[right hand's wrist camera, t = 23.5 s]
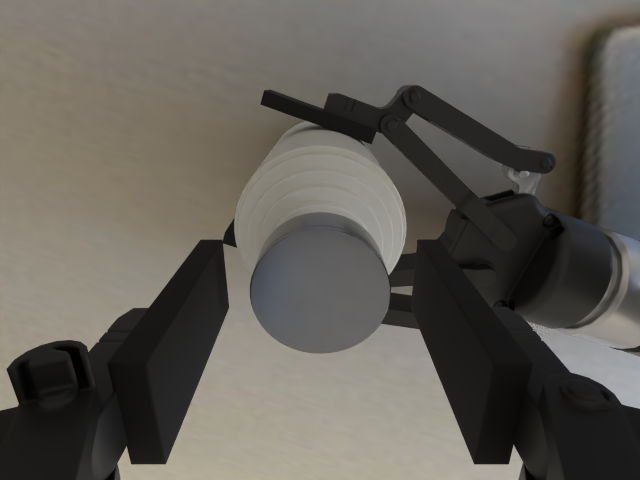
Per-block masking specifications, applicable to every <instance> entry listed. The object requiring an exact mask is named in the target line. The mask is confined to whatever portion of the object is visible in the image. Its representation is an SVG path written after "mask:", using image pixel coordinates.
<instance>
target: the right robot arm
mask: <svg viewBox="0 0 640 480" xmlns="http://www.w3.org/2000/svg"><path fill="white" fill-rule="evenodd" d="M228 309H229V302H228V292H227V282H226V271H225V261H224V251H223V241H222V240H200V241H199V243H198V244H197V245H196V247H195V248H194V249H193V251H192V252H191V253H190V255H189V256H188V257H187V259H186V260H185V261H184V262H183V264H182V265H181V266H180V268H179V269H178V270H177V272H176V273H175V274H174V276H173V277H172V278H171V280H170V281H169V282H168V284H167V285H166V286H165V288H164V289H163V290H162V291H161V293H160V294H159V295H158V297H157V298H156V299H155V301H154V302H153V303H152V305H151V306H150V307H149V308H133V309H132V310H130V311H128V312H127V313H125V314H124V315H122V316H121V317H119V318H118V319H117V320H116V321H115V322H114V323H113V324H112V326H111V327H110V328H109V329H108V332H106V333H105V334H104V335H103V336H102V337H101V338H100V340H99V342H97V343H96V344H95V345H94V347H93V348H92V349H91V350H90V351H89V352H88V350H87V346H85V345H84V344H83V343H81V342H78V341H72V340H65V341H55V342H52V343H48V344H44V345H41V346H39V347H36V348H34V349H32V350H30V351H27V352H26V353H24V354H23V355H21V356H20V357H18V358H17V359H15V360H14V361H13V362H12V363H11V365H10V366H9V367H8V368H7V372H8V374H9V377H10V380H11V383H12V386H13V388H14V391H15V394H16V397H17V399H18V402H19V405H18V407H14V408H10V409H6V410H1V411H0V480H120V474H119V469H118V465H117V463H118V461H119V459H120V457H121V455H122V453H123V452H124V450H125V448H126V446H127V449H128V453H129V457H130V461H131V464H166V462H167V460H168V457H169V455H170V452H171V450H172V447H173V445H174V442H175V440H176V437H177V435H178V432H179V430H180V428H181V425H182V423H183V420H184V418H185V415H186V413H187V410H188V408H189V405H190V403H191V400H192V398H193V395H194V393H195V390H196V388H197V385H198V383H199V381H200V378H201V376H202V373H203V371H204V368H205V366H206V363H207V361H208V358H209V356H210V353H211V351H212V348H213V346H214V343H215V341H216V338H217V336H218V334H219V331H220V329H221V326H222V324H223V321H224V319H225V316H226V314H227V311H228ZM411 309H412V311H413V314H414V316H415V319H416V321H417V324H418V326H419V329H420V331H421V334H422V336H423V338H424V341H425V343H426V346H427V348H428V351H429V353H430V356H431V358H432V361H433V363H434V366H435V368H436V371H437V373H438V376H439V378H440V381H441V383H442V385H443V388H444V390H445V393H446V395H447V398H448V400H449V403H450V405H451V408H452V410H453V413H454V415H455V418H456V420H457V423H458V425H459V428H460V430H461V432H462V435H463V437H464V440H465V442H466V445H467V447H468V450H469V452H470V455H471V457H472V460H473V462H474V464H509V461H510V457H511V453H512V449H513V444H514V446H515V448H516V450H517V451H518V453H519V455H520V457H521V459H522V461H523V465H522V469H521V472H520V476H519V480H640V409H638V408H633V407H629V406H625V405H622V404H621V403H620V401H619V400H618V399H617V397H616V396H615V395H614V393H612V392H611V391H610V390H608V389H607V388H606V387H605V386H603V385H602V384H600V383H598V382H596V381H594V380H592V379H590V378H588V377H584V376H581V375H578V374H574V373H570V371H569V370H568V369H567V368H566V367H565V366H564V364H563V363H562V362H561V361H560V360H559V359H558V357H557V356H556V355H555V354H554V353H553V352H552V351H551V349H550V348H549V347H548V346H547V345H546V344H545V342H544V341H541V338H540V337H539V335H538V334H537V333H536V332H535V331H533V329H532V327H531V326H530V325H529V324H528V323H527V322H526V320H525V319H524V318H523V317H522V316H520V315H519V314H517V313H515V312H514V311H512V310H511V309H509V308H507V307H490V306H489V305H488V303H487V302H486V301H485V299H484V298H483V297H482V295H481V294H480V293H479V291H478V290H477V289H476V288H475V286H474V285H473V284H472V282H471V281H470V280H469V278H468V277H467V276H466V274H465V273H464V272H463V270H462V269H461V268H460V266H459V265H458V264H457V262H456V261H455V260H454V259H453V257H452V256H451V255H450V253H449V252H448V251H447V249H446V248H445V247H444V245H443V244H442V243H441V241H440V240H418V241H417V251H416V261H415V271H414V282H413V292H412V302H411Z"/></svg>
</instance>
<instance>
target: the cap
mask: <svg viewBox="0 0 640 480" xmlns="http://www.w3.org/2000/svg"><path fill="white" fill-rule="evenodd" d="M390 297H391V285H390V278H389V275H388V272H387V269H386V266H385V263H384V261H383V258H382V255H381V252H380V250H379V247H378V245H377V243H376V242H375V240H374V239H373V237H372V236H371V235H370V234H369V232H368V231H367V230H366V229H364V228H363V227H362V226H361V225H360V224H358V223H356V222H355V221H353V220H351V219H349V218H347V217H345V216H341V215H338V214H334V213H327V212H314V213H307V214H302V215H299V216H296V217H294V218H292V219H290V220H287V221H286V222H284V223H283V224H281V225H280V226H279V227H277V228H276V229H275V230H274V231H273V232H272V233H271V234H270V236H269V237H268V238H267V240H266V241H265V243H264V245H263V247H262V249H261V251H260V254H259V257H258V260H257V263H256V266H255V269H254V271H253V275H252V278H251V284H250V299H251V304H252V308H253V311H254V313H255V315H256V317H257V319H258V321H259V322H260V324H261V325H262V327H263V328H264V329H265V330H266V331H267V332H268V333H269V334H270V335H271V336H272V337H273V338H275V339H276V340H278V341H279V342H280V343H282V344H284V345H286V346H288V347H291V348H293V349H296V350H299V351H303V352H309V353H332V352H338V351H341V350H345V349H348V348H350V347H353V346H355V345H357V344H358V343H360V342H362V341H363V340H365V339H366V338H367V337H369V336H370V335H371V334H372V333H373V332H374V331H375V330H376V329H377V328H378V326H379V325H380V324H381V322H382V320H383V319H384V317H385V315H386V313H387V310H388V307H389V304H390Z"/></svg>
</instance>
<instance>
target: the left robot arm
mask: <svg viewBox="0 0 640 480" xmlns="http://www.w3.org/2000/svg"><path fill="white" fill-rule="evenodd" d="M261 105H264V106H266V107H269V108H272V109H275V110H277V111H280V112H283V113H286V114H289V115H291V116H294V117H297V118H300V119H303V120H305V121H308V122H311V123H314V124H316V125H319V126H322V127H325V128H328V129H330V130H333V131H336V132H339V133H342V134H344V135H347V136H350V137H353V138H356V139H358V140H361V141H364V142H367V143H369V144H372V141H373V139H374V136H375V134H376V131H377V132H380V133H382V134H383V135H384V136H385V137H386V138H387V139H388V140H389V141H390V142H391V143H392V144H393V145H394V146H395V147H396V148H397V149H398V150H399V151H400V152H401V153H402V154H403V155H404V156H405V157H406V158H407V159H408V160H409V161H410V162H411V163H412V164H413V165H414V166H415V167H416V168H417V169H418V170H419V171H420V172H421V173H422V174H423V175H424V176H425V177H426V178H427V179H428V180H429V181H430V182H431V183H432V184H433V185H434V186H435V187H437V188H438V189H439V190H440V191H441V192H442V193H443V195H444V196H445V197H446V198H447V199H448V200H449V201H450V202H451V203H452V204H453V205H454V206H455V207H456V210H453V209H452V210H451V212H450V214H449V216H448V218H447V222H446V227H445V231H444V232H443V233H442V234H441V236H440V237H439V238H438V239H437V240H440V241H441V243H442V244H443V245H444V247H445V248H446V249H447V251H448V252H449V253H450V255H451V256H452V257H453V259H454V260H455V261H456V262H457V264H458V265H459V266H460V268H461V269H462V270H463V272H464V273H465V274H466V276H467V277H468V278H469V280H470V281H471V282H472V284H473V285H474V286H475V288H476V289H477V290H478V291H479V293H480V294H481V295H482V297H483V298H484V299H485V301H486V302H487V303H488V305H489V306H490V307H507V308H509V309H511V310H512V311H514V312H515V313H517V314H519V315H520V316H522V317H523V318H524V319H525V320H526V321H529V322H532V323H535V324H538V325H541V326H545V327H548V328H554V329H556V330H558V331H560V332H563V333H566V334H569V335H572V336H576V337H579V338H582V339H586V340H589V341H592V342H595V343H599V344H602V345H605V346H609V347H611V348H614V349H617V350H622V351H625V352H628V353H631V354H634V355H636V356H639V357H640V241H637V240H634V239H632V238H629V237H626V236H623V235H621V234H618V233H615V232H612V231H610V230H607V229H604V228H598V227H596V226H595V225H593V224H591V223H588V222H585V221H582V220H580V219H577V218H574V217H571V216H568V215H566V214H563V213H560V212H557V211H554V210H552V209H549V208H546V207H543V206H542V205H541V204H540V202H539V201H538V199H537V198H536V197H535V196H534V194H535V191H536V189H537V186H538V183H539V180H540V177H541V175H542V174H546V173H548V172H550V171H551V170H553V168H554V167H555V164H556V159H555V157H554V156H553V155H552V154H550V153H547V152H543V151H540V150H537V149H534V148H530V147H526V146H520V145H514V144H513V143H511V142H509V141H508V140H506V139H505V138H503V137H501V136H500V135H498V134H496V133H495V132H493V131H492V130H490V129H488V128H487V127H485V126H484V125H482V124H480V123H479V122H477V121H475V120H474V119H472V118H471V117H469V116H467V115H466V114H464V113H463V112H461V111H459V110H458V109H456V108H454V107H453V106H451V105H450V104H448V103H446V102H445V101H443V100H442V99H440V98H438V97H437V96H435V95H433V94H432V93H430V92H429V91H427V90H425V89H424V88H422V87H420V86H417V85H404V86H402V87H400V88H399V90H398V91H397V94H396V95H395V96H394V97H393V99H392V100H391V101H390V102H389V103H388V104H387V105H386V106H384V107H374V106H371V105H369V104H366V103H363V102H361V101H358V100H355V99H352V98H350V97H347V96H344V95H342V94H339V93H329V94H328V97H327V100H326V103H325V106H324V109H322V108H319V107H316V106H314V105H311V104H308V103H305V102H303V101H300V100H297V99H294V98H292V97H289V96H286V95H283V94H281V93H278V92H275V91H272V90H264V93H263V97H262V101H261ZM413 113H415V114H416V115H418V116H420V117H421V118H423V119H425V120H426V121H428V122H429V123H431V124H433V125H434V126H436V127H438V128H439V129H441V130H443V131H444V132H446V133H448V134H449V135H451V136H453V137H454V138H456V139H458V140H459V141H461V142H463V143H464V144H466V145H468V146H469V147H471V148H473V149H474V150H476V151H478V152H479V153H481V154H483V155H484V156H486V157H488V158H490V159H492V160H494V161H496V162H499V163H501V164H503V165H502V174H503V176H504V177H506V178H508V179H510V180H511V181H512V183H513V188H512V189H511V190H507V191H504V192H500V193H497V194H493V195H489V196H486V197H482V198H478V197H477V196H476V195H475V194H474V193H473V192H472V191H471V190H470V189H469V188H468V187H467V186H466V185H465V184H464V183H463V182H462V181H461V180H460V179H459V178H458V177H457V176H456V175H455V174H454V173H453V172H452V171H451V170H450V169H449V168H448V167H447V166H446V165H445V164H444V163H443V162H442V161H441V160H440V159H439V158H438V157H437V156H436V155H435V154H434V153H433V152H432V151H431V150H430V149H429V148H428V146H427V145H426V144H425V143H424V142H423V141H422V140H421V139H420V138H419V137H418V136H417V135H416V134H415V133H414V132H413V131H412V130H411V129H410V128H409V127H408V126H407V125H406V124H405V122H406V121H407V119H408V118H409V117H410V116H411V115H412V114H413ZM234 220H235V219H233V221H232V223H231V224H230V226H229V227H228V229H227V230H226V232H225V235H224V239H223V243H224V244H227V245H230V246H233V247H237V245H236V240H235V233H234ZM415 261H416V253H413V254H401V255H400V258H399V260H398V262H397V264H396V265H395V267H394V269H393V270H392V272H391V273H390V274H389V278H390V285H391V287H399V286H413V282H414V271H415ZM411 302H412V296H410V295H403V294H397V293H391V297H390V304H389V307H388V310H387V313H386V315H385V317H384V319H383V320H382V322H381V324H387V325H394V326H401V327H408V328H415V329H419V326H418V324H417V321H416V319H415V316H414V314H413V311H412V309H411Z"/></svg>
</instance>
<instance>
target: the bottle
mask: <svg viewBox="0 0 640 480" xmlns="http://www.w3.org/2000/svg"><path fill="white" fill-rule="evenodd" d="M314 212H327V213H334V214H338V215H341V216H345V217H347V218H349V219H351V220H353V221H355V222H356V223H358V224H360V225H361V226H362V227H363V228H364V229H366V230H367V231H368V232H369V234H370V235H371V236H372V237H373V239H374V240H375V242H376V243H377V245H378V247H379V250H380V252H381V255H382V258H383V261H384V263H385V266H386V269H387V272H388V275H389V274H390V273H391V272H392V270H393V269H394V267H395V265H396V264H397V262H398V260H399V258H400V255H401V253H402V250H403V247H404V243H405V237H406V215H405V210H404V206H403V202H402V199H401V197H400V195H399V192H398V190H397V189H396V187H395V185H394V184H393V182H392V181H391V179H390V178H389V176H388V175H387V174H386V172H385V171H384V170H383V168H382V167H381V165H380V164H379V163H378V161H377V160H376V159H375V157H374V156H373V155H372V153H371V152H370V150H369V149H368V148H367V146H366V145H365V144H364V142H363V141H361V140H358V139H356V138H353V137H350V136H347V135H344V134H342V133H339V132H336V131H333V130H330V129H328V128H325V127H322V126H319V125H316V124H314V123H311V122H308V121H304V122H301V123H299V124H297V125H295V126H293V127H292V128H290V129H289V130H287V131H286V132H285V133H284V134H283V135H282V136H281V138H280V139H279V140H278V141H277V143H276V144H275V145H274V147H273V148H272V150H271V151H270V152H269V154H268V155H267V157H266V158H265V159H264V161H263V162H262V163H261V165H260V166H259V168H258V169H257V170H256V172H255V173H254V174H253V176H252V177H251V179H250V180H249V182H248V183H247V185H246V186H245V188H244V190H243V192H242V194H241V196H240V198H239V201H238V204H237V208H236V212H235V220H234V233H235V240H236V245H237V248H238V251H239V254H240V256H241V259H242V261H243V263H244V264H245V266H246V268H247V269H248V271H249V272H250V273H251V275H253V271H254V269H255V266H256V263H257V260H258V257H259V254H260V251H261V249H262V247H263V245H264V243H265V241H266V240H267V238H268V237H269V236H270V234H271V233H272V232H273V231H274V230H275V229H276V228H277V227H279V226H280V225H281V224H283V223H284V222H286V221H287V220H290V219H292V218H294V217H296V216H299V215H302V214H307V213H314Z"/></svg>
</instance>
